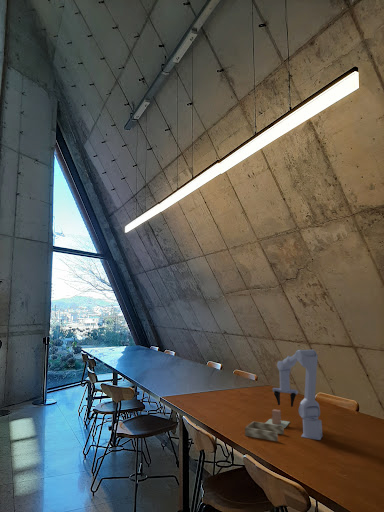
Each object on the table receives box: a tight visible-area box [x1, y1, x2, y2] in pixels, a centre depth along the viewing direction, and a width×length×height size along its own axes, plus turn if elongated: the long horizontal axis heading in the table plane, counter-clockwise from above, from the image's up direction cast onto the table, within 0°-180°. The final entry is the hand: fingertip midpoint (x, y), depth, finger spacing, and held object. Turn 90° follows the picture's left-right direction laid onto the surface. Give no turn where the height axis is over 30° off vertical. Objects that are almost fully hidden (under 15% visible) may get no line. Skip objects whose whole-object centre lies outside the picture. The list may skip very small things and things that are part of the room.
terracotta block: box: [271, 408, 282, 425], centre depth 207 cm, size 4×4×7 cm
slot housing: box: [244, 421, 285, 442], centre depth 188 cm, size 17×13×4 cm
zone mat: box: [265, 418, 291, 429], centre depth 207 cm, size 12×12×1 cm
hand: (285, 405), depth 211 cm, fingers open, 7 cm apart
